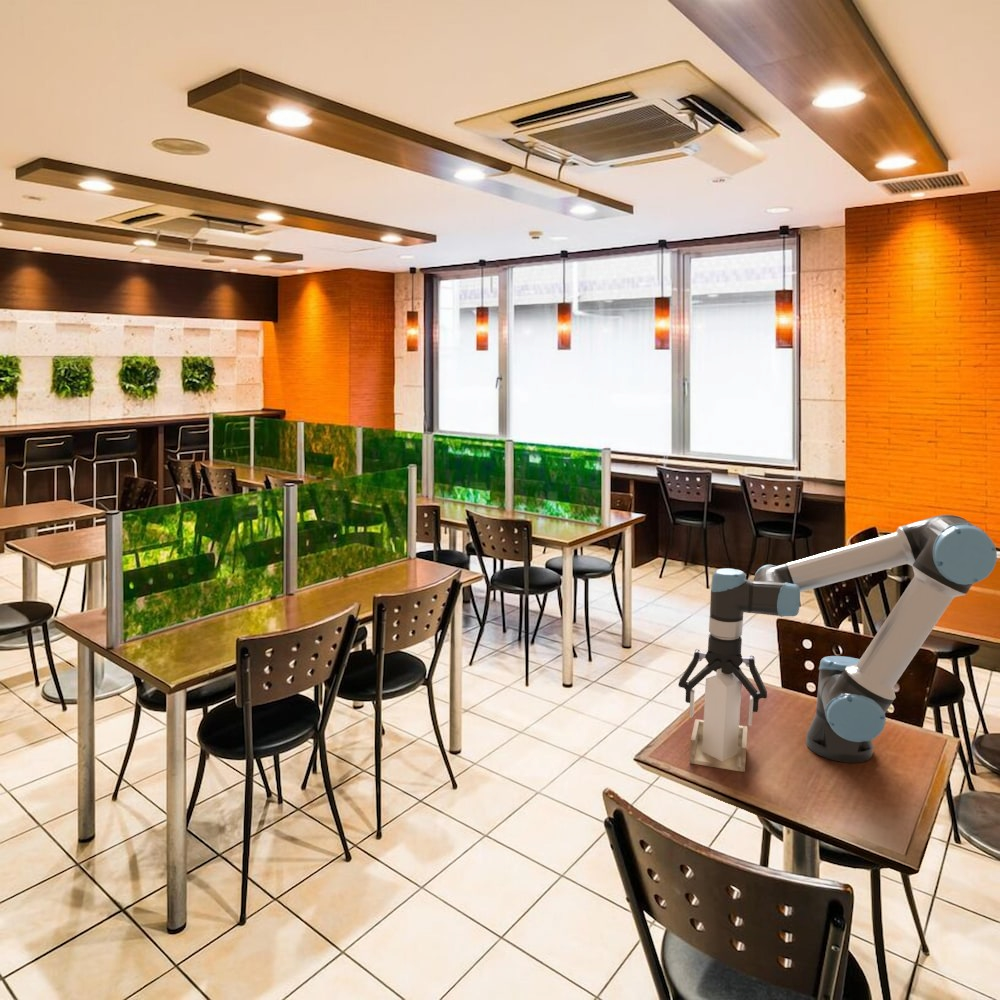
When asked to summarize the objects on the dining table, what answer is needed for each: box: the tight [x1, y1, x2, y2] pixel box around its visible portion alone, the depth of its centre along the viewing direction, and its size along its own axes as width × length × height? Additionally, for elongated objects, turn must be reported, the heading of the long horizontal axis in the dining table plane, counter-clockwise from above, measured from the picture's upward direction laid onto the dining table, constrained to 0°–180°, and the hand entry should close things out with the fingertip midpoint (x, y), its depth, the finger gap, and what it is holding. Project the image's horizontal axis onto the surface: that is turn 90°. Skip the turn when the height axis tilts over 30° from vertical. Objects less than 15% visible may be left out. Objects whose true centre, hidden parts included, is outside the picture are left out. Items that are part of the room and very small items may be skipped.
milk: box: [702, 668, 743, 761], centre depth 185 cm, size 6×6×22 cm
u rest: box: [689, 718, 748, 773], centre depth 187 cm, size 12×12×6 cm
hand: (720, 719), depth 186 cm, fingers open, 13 cm apart
